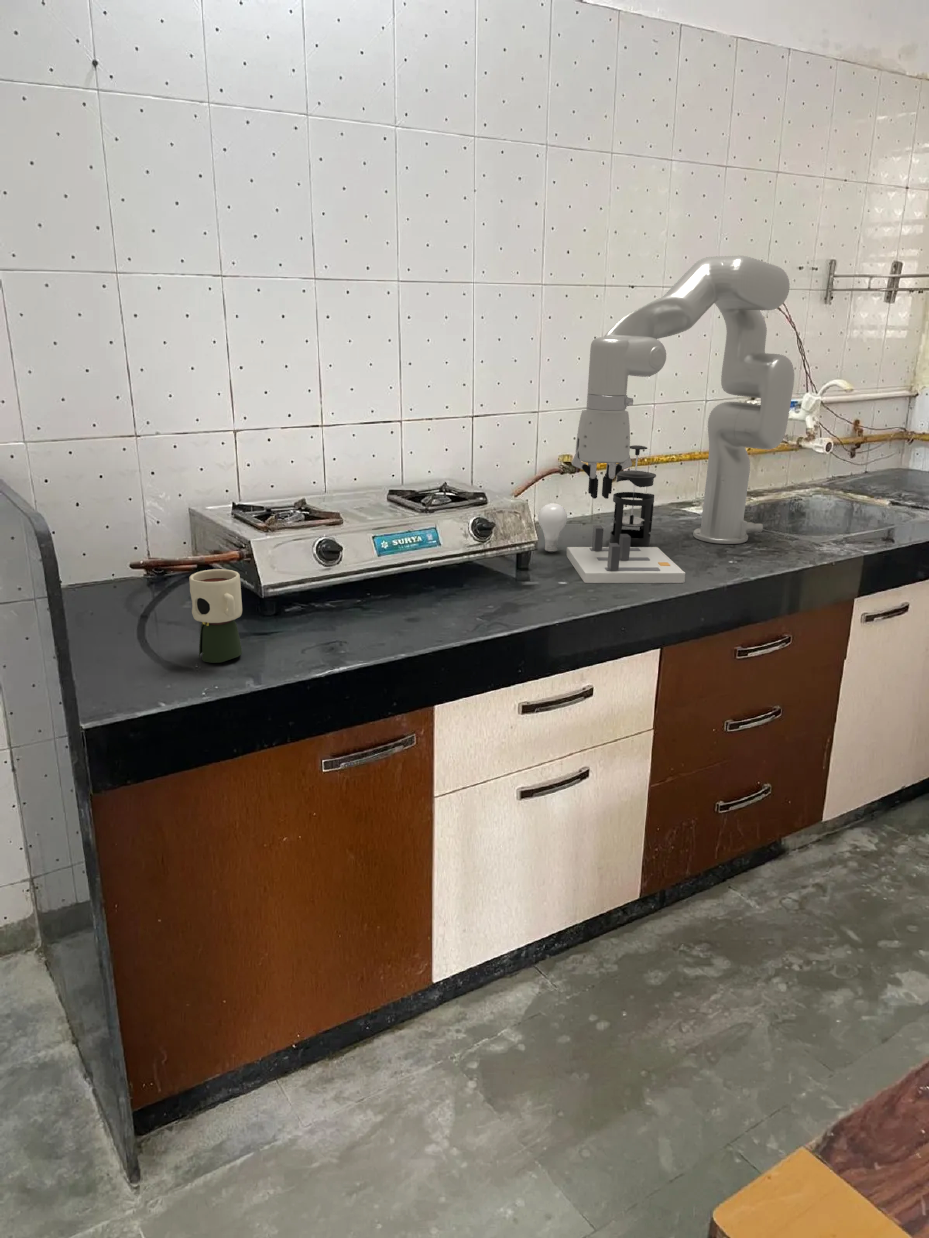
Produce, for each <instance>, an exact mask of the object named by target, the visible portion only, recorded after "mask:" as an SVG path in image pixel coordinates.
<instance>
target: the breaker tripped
mask: <svg viewBox="0 0 929 1238" xmlns="http://www.w3.org/2000/svg"><path fill="white" fill-rule="evenodd" d="M630 542H631V537H630V536H629V535H628V534H620V540H619V546H620V557H619V558H620V559H621V560H629V554H630Z"/></svg>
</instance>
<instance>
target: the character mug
mask: <svg viewBox="0 0 929 1238" xmlns="http://www.w3.org/2000/svg"><path fill="white" fill-rule="evenodd" d="M240 576H241V575H240V573H239V572H238V571H235V570H232V569H224V568H223V569H222V568H221V569H219V568H213V569H207V570H206V569H205V570H200V571H197V572H194V573H192V574H191V575H190V576H189V577H188V578H189V579H188V580H189V592H190V598H191V603H192V604H191V606H192V608H191V614H192V616H193V617H192V618H193V619H194V621H197V622H200V623H201V624H200V632H199V645H198V646H199V647H198V649H199V650H198V658H199V659H200V658H202V659H201V660H202V661H203V662H206V663H214V664H217V663H224V662H225V663H226V662H227V661H229V660H232V659H235V658H239V656H241V655H242V654H243V650H242V644H241V638H240V633H239V630H238V629H239V628H238V625H237V622H236V621H235V620H236V619H238V618H240V617H241V616H242V614H243V602H242V589H241V588H242V587H241V586H242V585H241V577H240ZM201 655H202V656H201Z"/></svg>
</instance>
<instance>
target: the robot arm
mask: <svg viewBox="0 0 929 1238" xmlns="http://www.w3.org/2000/svg"><path fill="white" fill-rule="evenodd" d="M790 285H791V284H790V279H789V276H788V274H787V272H786V271H785V270H784V269H783V268H782V267H780V266H777V265H775V264H773V263H769V262H766V261H764V260H760V259H757V258H754V257H751V256H748V255H747V256H746V255H724V256H723V255H721V256H720V255H719V256H718V255H717V256H708V257H707V256H706V257H704V258H701V259H699V260H698V261H696V262H695V263H693V265H692V266H691V267H690V268H688V270H687V271H686V272H685V273H684V274H683V275H682V276H681V277H680V278H679V279H678V280H677V282H675V283H674V285H672V287H671V288H670V289H669V290H668V291H667V292H666V293H665V294H664V295H662V296H661V297H660V298H658V299H657V298H656V299H655V300H653V301H651V302H649V303H647V304H646V305H643V306H642V307H639V308H638V309H636V310H633V311H631V312H630V313H628V314H626V315H625V316H624V317H622V318H621V319H619V320H618V321H617V322H616V323H615V324H614V325H613V326H612V327H611V328H610V329H609V330H608V331H607V332H606V333H605V334H604V335H603V336H601V337H596V338H594V339H592V341H591V343H590V352H589V364H588V378H587V379H588V381H587V394H586V408H585V409H582V410H581V413H580V417H579V421H578V422H579V423H578V428H577V434H576V440H575V441H576V443H575V454H574V456H573V458H572V460H571V465H572V466H574V468H575V467H576V468H578V469H580V470H583V471H584V473H585V474H586V475H587V476H588V490H587V491H588V493H587V494H589V495H590V497H591V498H592V499H594V500H595V499H597V498H598V494H599V493H598V491H599V479H598V475H597V466H598V464H606V467H605V468H606V469H605V474H604V476H603V477H602V487H601V488H602V489H601V496H602V497H603V498H604V499H606V500H607V499H609V497H610V495H611V494H612V489H613V479H614V478H615V477H616V474H618V473H619V472H620V471H623V470H625V469H628V468H631V467H632V465H633V462H632V459H631V456H630V451H631V450H630V446H631V430H630V428H631V427H630V425H631V424H630V415H629V411H627V410H626V409H627V407H628V406H633V405H634V398H632V397H628V394H627V392H628V381H629V378H628V377H642V378H643V377H644V378H646V377H652V376H654V375H656V374H658V373H659V372H660V371H661V370H662V369H664V366H665V363H666V361H667V351H666V348H665V346H664V344H663V343H662V342H661V341H660V340H659V339H662V338H667V337H671V336H675V335H678V334H681V333H684V332H686V331H689V330H690V329H691V328H693V327H694V326H695V324H696V323H697V322H698V321H699V320H700V319H701V318H702V317H703V316H704V314H705V313H707V311H708V310H709V309H710V308H711V307H712V306H714V304H715V306H716V307H717V309H718V310H719V312H720V313H721V315H722V318H723V320H724V323H725V327H726V335H725V336H726V337H725V346H724V354H723V358H722V359H723V361H722V369H721V375H720V376H721V377H720V381H721V382H720V384H721V389H722V390H723V392H725V393H727V394H729V395H733V396H737V397H738V396H739V397H745V398H755V399H756V398H757V399H760V404H758V403H750V402H741V401H725V402H721V403H719V404H717V405H715V406H714V408H712V410H711V411H710V413H709V416H708V420H707V433H708V434H707V435H708V436H707V437H708V461H707V469H706V479H705V487H704V494H703V495H704V497H703V504H702V505H703V506H702V511H701V512H702V515H701V525H700V527H699V528H695V529H694V530H693V533H692V535H693V537H694V538H695V539H697V540H699V541H702V542H707V543H712V544H721V545H723V544H724V545H737V544H744V543H745V542H748V539H749V535H748V534H749V533H750V532H754V533H756V532H758V533H762V531H763V529H764V526H763V523H754V522H753V521H752V522H751V521H750V522H749V521H747V520H745V519H744V517H745V512H746V511H745V509H746V502H747V495H748V487H749V479H750V474H751V473H750V472H751V460H750V457H749V456H750V455H749V454H748V451H747V449H746V448H751V449H757V450H773V449H775V448H777V447H778V446H779V445H780V444H781V443H782V442H783V440H784V437H785V435H786V432H787V428H788V427H787V426H788V423H789V422H788V421H789V415H790V410H791V403H792V398H793V392H794V391H793V390H794V385H795V369H794V366H793V363H792V361H791V360H790V358H789V357H787V356H786V355H784V354H780V353H767V352H766V341H767V333H768V330H767V324H766V320H765V318H764V316H763V313H762V312H761V311H772V310H776V309H778V308H780V307H781V306H782V305H783V304H784V303H785V302H786V300H787V298H788V296H789V293H790V288H791V287H790Z"/></svg>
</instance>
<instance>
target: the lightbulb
mask: <svg viewBox="0 0 929 1238" xmlns="http://www.w3.org/2000/svg"><path fill="white" fill-rule="evenodd" d="M537 521H538V524H539V526H540V528H541V530H542V532H543V536H544V544H545V546H544V550H545V551H546V552H548V553H550V554H552V553H554V552H557V551H558V540H559V538H560V536H561V535H560V534H561V531H562V530H563V529H564V528H565V526H566V524H567V521H568V513H567V510H566V509H565V507H563V506H562V505H561V504H559V503H556V502H550V503H546V504H545V505H543V506H542V507H541V508H540V510H539V511H538V514H537Z"/></svg>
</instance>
